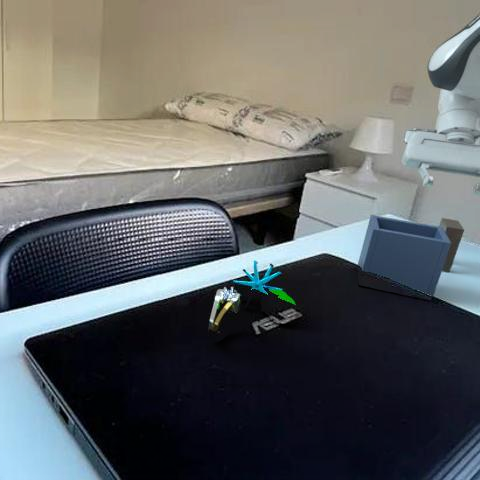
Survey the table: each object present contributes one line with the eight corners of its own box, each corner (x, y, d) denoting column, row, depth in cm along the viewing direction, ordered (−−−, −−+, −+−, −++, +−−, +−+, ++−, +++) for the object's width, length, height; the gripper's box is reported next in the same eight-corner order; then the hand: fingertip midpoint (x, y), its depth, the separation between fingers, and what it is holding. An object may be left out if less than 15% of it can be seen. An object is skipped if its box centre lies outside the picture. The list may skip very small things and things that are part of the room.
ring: (217, 355, 66) (225, 303, 63) (197, 345, 68) (204, 294, 65) (243, 334, 71) (252, 285, 68) (224, 325, 73) (232, 277, 70)
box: (424, 282, 92) (442, 227, 88) (431, 301, 85) (451, 243, 81) (356, 268, 96) (370, 214, 91) (357, 286, 89) (373, 229, 84)
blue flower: (222, 284, 80) (256, 249, 79) (239, 294, 86) (271, 261, 84) (271, 338, 73) (309, 300, 72) (286, 345, 78) (322, 310, 77)
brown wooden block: (444, 261, 102) (458, 220, 99) (449, 272, 97) (464, 229, 94) (428, 258, 103) (441, 217, 99) (432, 269, 98) (446, 226, 95)
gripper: (409, 117, 106) (402, 173, 102) (518, 131, 101) (516, 190, 96) (402, 135, 112) (394, 188, 107) (504, 148, 106) (501, 205, 102)
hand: (453, 189), depth 102 cm, fingers open, 8 cm apart
